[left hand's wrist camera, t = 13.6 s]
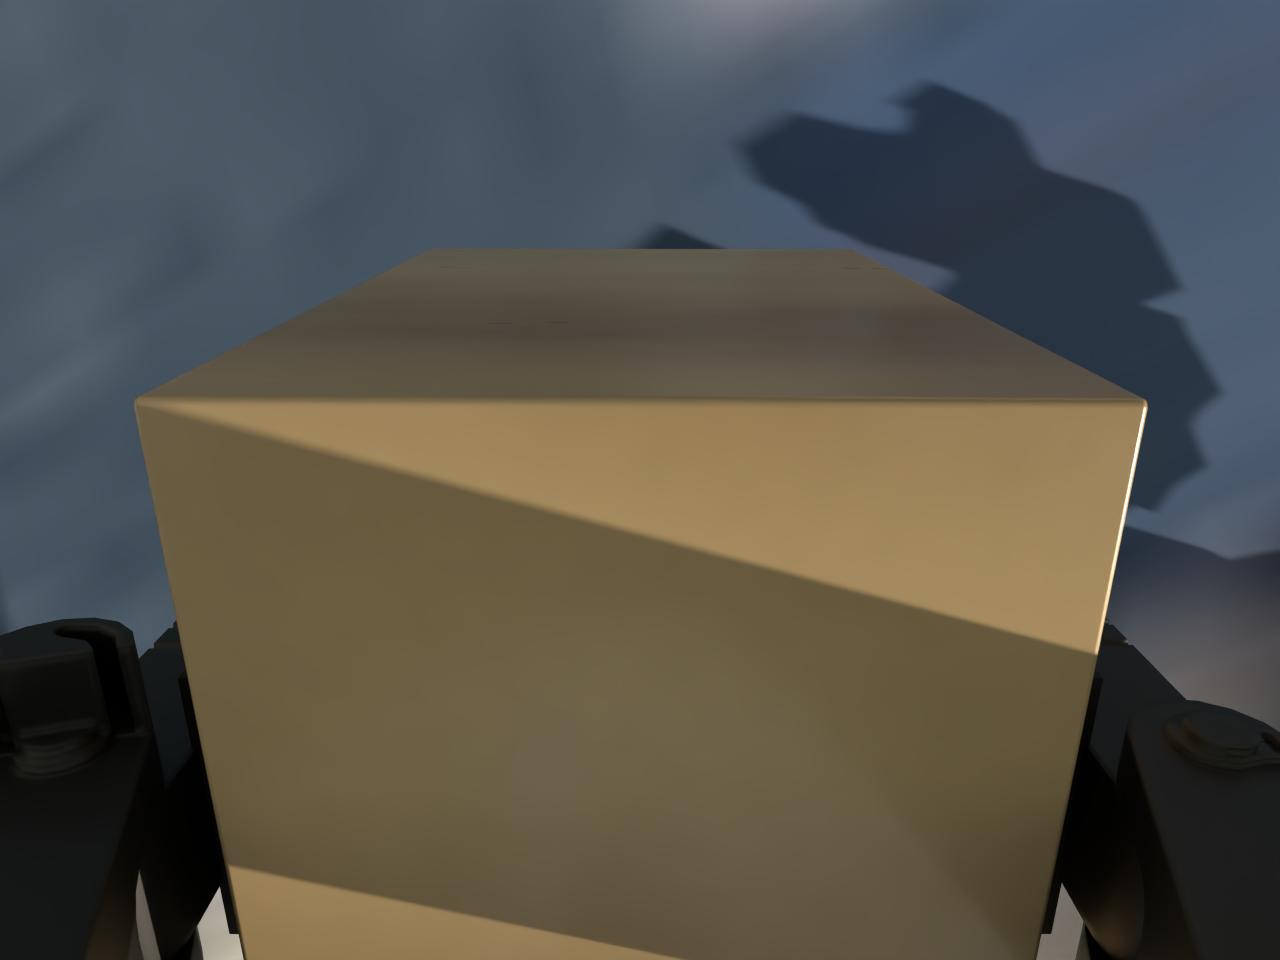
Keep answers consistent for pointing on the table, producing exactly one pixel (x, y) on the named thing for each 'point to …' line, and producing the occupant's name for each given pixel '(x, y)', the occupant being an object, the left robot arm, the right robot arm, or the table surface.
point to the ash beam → (640, 609)
